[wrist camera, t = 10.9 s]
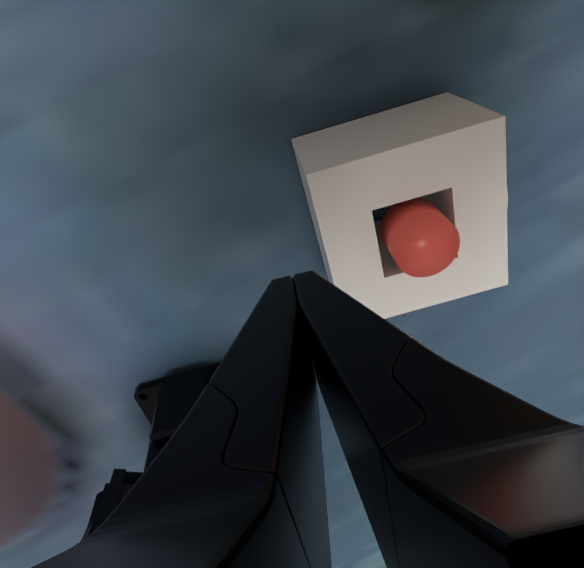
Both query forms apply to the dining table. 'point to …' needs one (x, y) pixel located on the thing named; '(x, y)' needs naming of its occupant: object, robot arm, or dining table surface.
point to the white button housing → (404, 186)
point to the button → (419, 237)
